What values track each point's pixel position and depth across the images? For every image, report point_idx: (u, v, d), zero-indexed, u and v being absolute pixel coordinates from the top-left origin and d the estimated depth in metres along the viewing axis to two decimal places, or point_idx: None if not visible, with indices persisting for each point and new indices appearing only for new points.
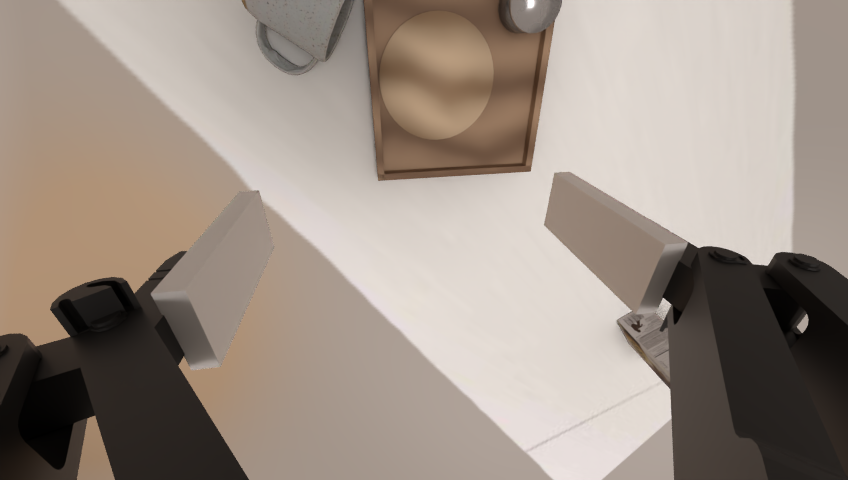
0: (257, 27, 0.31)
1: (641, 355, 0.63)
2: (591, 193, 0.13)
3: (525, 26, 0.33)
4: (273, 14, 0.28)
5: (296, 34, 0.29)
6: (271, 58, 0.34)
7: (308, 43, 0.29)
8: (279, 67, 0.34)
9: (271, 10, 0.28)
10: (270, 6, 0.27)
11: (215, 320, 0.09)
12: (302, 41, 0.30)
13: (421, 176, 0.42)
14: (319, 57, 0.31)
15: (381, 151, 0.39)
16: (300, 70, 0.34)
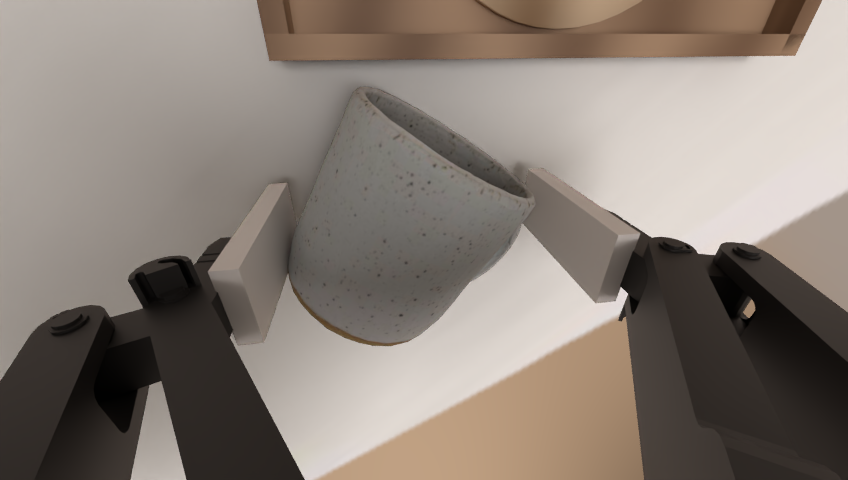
0: None
1: None
2: (559, 188, 0.13)
3: None
4: (450, 301, 0.13)
5: (487, 260, 0.12)
6: (486, 264, 0.18)
7: (508, 237, 0.12)
8: (502, 254, 0.18)
9: (443, 306, 0.12)
10: (438, 309, 0.12)
11: (259, 299, 0.10)
12: None
13: None
14: None
15: (731, 38, 0.14)
16: None
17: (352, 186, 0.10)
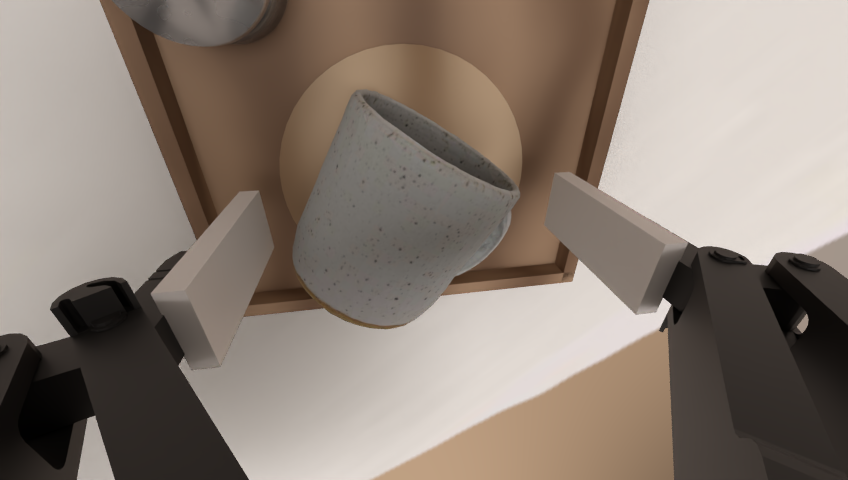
0: None
1: None
2: (591, 193, 0.13)
3: None
4: (442, 287, 0.14)
5: (476, 248, 0.13)
6: (479, 256, 0.19)
7: (495, 227, 0.13)
8: (494, 246, 0.19)
9: (435, 291, 0.13)
10: (430, 294, 0.13)
11: (215, 320, 0.09)
12: (488, 236, 0.13)
13: None
14: None
15: (523, 278, 0.22)
16: (506, 216, 0.18)
17: (351, 180, 0.11)
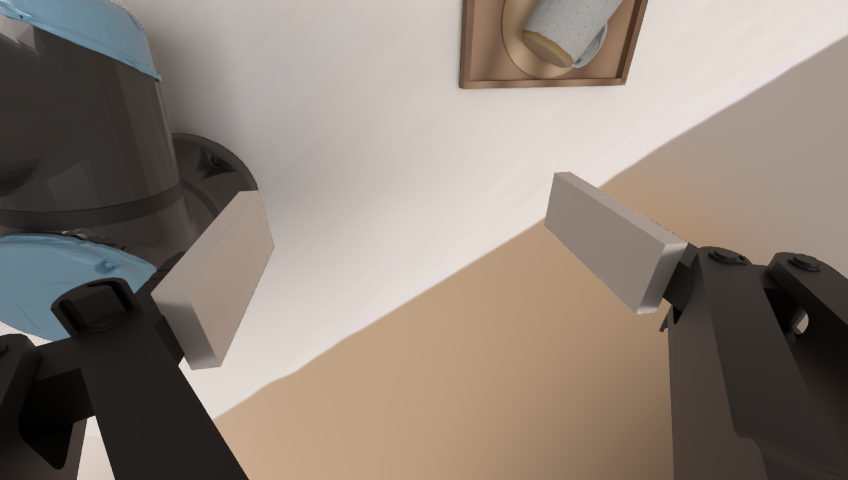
0: None
1: None
2: (591, 193, 0.13)
3: None
4: (590, 38, 0.35)
5: (605, 21, 0.34)
6: (587, 59, 0.41)
7: (614, 11, 0.34)
8: (594, 53, 0.40)
9: (588, 39, 0.35)
10: (587, 39, 0.35)
11: (215, 320, 0.09)
12: None
13: (636, 37, 0.41)
14: None
15: (601, 80, 0.43)
16: (604, 33, 0.39)
17: None
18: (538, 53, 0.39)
